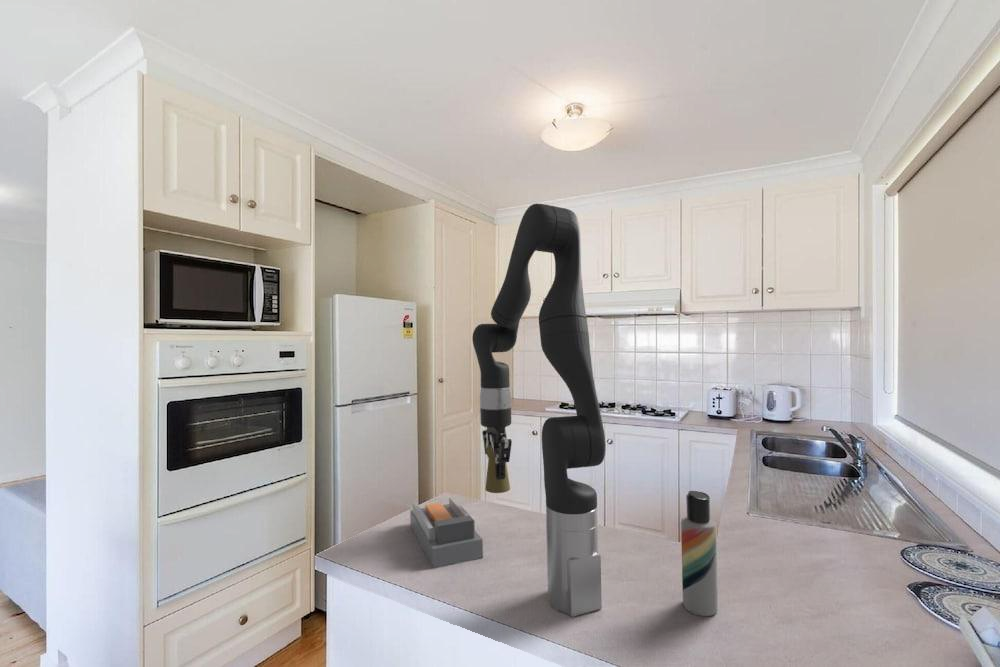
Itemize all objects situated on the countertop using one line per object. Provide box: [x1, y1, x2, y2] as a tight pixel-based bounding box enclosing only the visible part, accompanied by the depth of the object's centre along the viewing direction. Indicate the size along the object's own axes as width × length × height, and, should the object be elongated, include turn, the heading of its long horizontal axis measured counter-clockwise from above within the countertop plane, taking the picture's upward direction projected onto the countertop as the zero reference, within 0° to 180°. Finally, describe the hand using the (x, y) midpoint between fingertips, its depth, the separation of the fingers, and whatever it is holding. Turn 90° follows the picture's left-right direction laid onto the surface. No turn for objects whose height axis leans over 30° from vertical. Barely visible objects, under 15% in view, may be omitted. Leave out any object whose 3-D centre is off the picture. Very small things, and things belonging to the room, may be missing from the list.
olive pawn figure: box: [484, 444, 511, 494], centre depth 114 cm, size 6×6×11 cm
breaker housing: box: [409, 496, 484, 569], centre depth 111 cm, size 24×11×8 cm, turn 22°
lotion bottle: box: [680, 490, 719, 617], centre depth 82 cm, size 6×6×20 cm
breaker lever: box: [424, 502, 452, 523], centre depth 113 cm, size 17×4×1 cm, turn 22°
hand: (497, 475), depth 114 cm, fingers closed on olive pawn figure, 4 cm apart
